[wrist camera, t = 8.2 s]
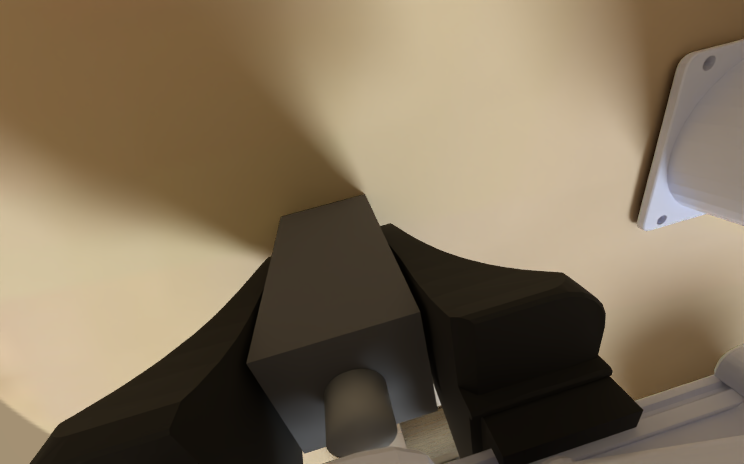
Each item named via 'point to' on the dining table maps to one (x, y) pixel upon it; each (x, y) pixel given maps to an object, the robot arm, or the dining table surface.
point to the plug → (340, 333)
